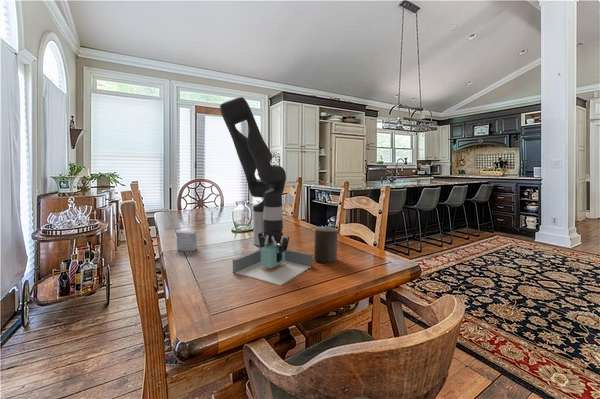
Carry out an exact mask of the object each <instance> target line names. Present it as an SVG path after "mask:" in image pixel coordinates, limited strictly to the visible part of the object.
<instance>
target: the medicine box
mask: <svg viewBox="0 0 600 399" xmlns="http://www.w3.org/2000/svg"><path fill="white" fill-rule="evenodd" d="M175 234H176V249H177V251H178V252H194V251H196V250H197V249H198V242H197V240H198V239H197V238H198V237H197V231H192V230H190V231H189V230H187V231H186V230H180V231H178V232H177V233H175Z"/></svg>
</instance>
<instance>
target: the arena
mask: <svg viewBox="0 0 600 399" xmlns="http://www.w3.org/2000/svg"><path fill="white" fill-rule="evenodd" d="M313 255H314V253H313V254H312V253H307V252H303V251H298V250H292V249H288V248H287V250H286V251H285V262H283V263H281V264H279V265H277V266H275V267H273V268H268V267H264V266H261V248H259V249H257V250H254V251H251V252H249V253H246V254H244V255H241V256H239V257H238V256H237V257H235V258H233V259H232V273H234V274H238V275H241V276H245V277H248V278H251V279H256V280H259V281H261V282H266V283H268V284H269V283H270V284H272V285H277V286H280V287H281V286H282V285H284V284H286V283H288V282H290V281H291V280H292V279H294V278H295V277H298V276H299V275H301V274H302V273H304V272H305V270H306V271H307V270H309V269H310V268H312V267H313V260H314V256H313ZM311 266H312V267H311ZM308 268H309V269H308Z"/></svg>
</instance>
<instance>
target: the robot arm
mask: <svg viewBox="0 0 600 399" xmlns="http://www.w3.org/2000/svg"><path fill="white" fill-rule="evenodd" d="M219 109H220V113H221V116H222V119H223V121H224V124H225V125H226V127H227V130H228V133H229V134H230V137H231V139H232V143H233V145H234V148H235V152H236V155H237V157H238V159H239V163H240V164H241V168H242V170H243V173H244V175H245V179H246V183H247V186H248V190H249V193H250V195H251V197H253V198H262V201H261V202H259V203H256V204H253V206H252V217H253V222H252V225H253V229H252V230H253V236H252V238H253V245H255V246H259V248H260V249H261V248H262V247H265V246H268V245H271V244H274V247H275V248H276V251H277V262H280V261H281V260H282V252H284V251H286V250H287V249H288V245H289V241H290V236H285V235H284V234H283V233H284V232H283V229H284V228H283V227H284V212H283V211H284V210H283V193H284V191H285V186H286V182H287V174H286V170H285V169H284V167H283V166H281V165H272V164H271V161H272V159H273V155H272V152H271V151H270V149H269V146H268V145H267V144H266V142H265V140H264V138H263V135H262V133H261V131H260V129H259V126H258V124H257V121H256V119H255V116H254V114H253V112H252V110H251V107H250V105H249V104H248V102H247V100H246V99H245V98H244V97H243V96H237V97H235V98H233V99H230V100H227V101H224V102H223V103H220V106H219ZM245 121H246V122H247V125H248V131H247V132H248V133H247V136H245V135H244V134H243V133H242V132H241V131H240V130H238V128H237V127H236V125H237V124H239V123H242V122H245ZM256 170H257V171H256ZM256 172H257V174H258V178H257V177H256ZM277 243H278V244H277Z"/></svg>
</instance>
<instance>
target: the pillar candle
mask: <svg viewBox="0 0 600 399" xmlns="http://www.w3.org/2000/svg"><path fill="white" fill-rule="evenodd" d="M338 235H339V230H338V228H336V227H331V226H317V227H315V228H314V253H313V255H314V256H313V260H314V261H315V260H316V261H318V262H317V263H319V262H321V264H324V263H329V264H332V263H331V262H335V261H336V260H337V261H338ZM316 261H315V262H316ZM337 261H336V262H337ZM336 262H335V263H336Z"/></svg>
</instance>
